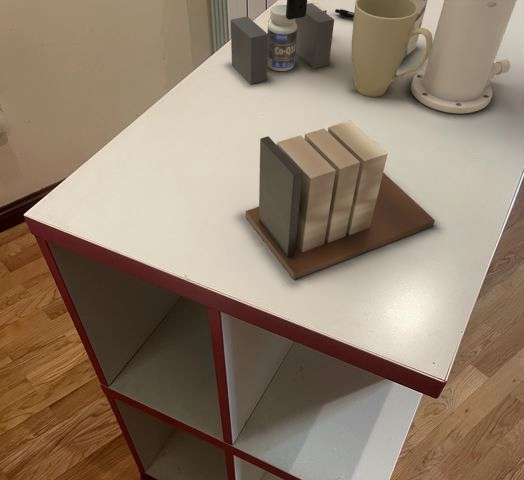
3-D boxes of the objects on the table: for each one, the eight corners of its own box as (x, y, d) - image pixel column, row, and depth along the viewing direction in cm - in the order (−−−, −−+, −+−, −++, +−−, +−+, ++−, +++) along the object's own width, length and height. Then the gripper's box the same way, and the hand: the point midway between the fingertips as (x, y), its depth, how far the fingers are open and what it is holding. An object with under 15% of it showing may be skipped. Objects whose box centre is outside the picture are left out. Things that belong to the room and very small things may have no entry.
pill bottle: (274, 74, 85) (276, 18, 78) (262, 61, 87) (263, 5, 81) (299, 68, 86) (303, 13, 79) (286, 56, 89) (289, 1, 82)
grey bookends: (307, 47, 91) (311, 2, 85) (329, 64, 87) (334, 19, 82) (231, 65, 86) (230, 19, 81) (250, 84, 83) (250, 37, 77)
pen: (332, 15, 98) (333, 9, 97) (336, 12, 99) (337, 6, 98) (400, 34, 94) (402, 27, 93) (404, 31, 95) (405, 24, 94)
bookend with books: (376, 173, 70) (397, 85, 60) (432, 226, 64) (465, 137, 54) (245, 217, 64) (244, 127, 54) (293, 280, 58) (302, 191, 48)
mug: (348, 107, 79) (362, 22, 70) (338, 75, 85) (350, -8, 75) (418, 106, 80) (441, 21, 70) (403, 74, 86) (423, -8, 76)
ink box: (395, 67, 87) (418, -37, 75) (370, 58, 89) (388, -45, 77) (416, 48, 91) (441, -53, 79) (391, 40, 93) (412, -60, 81)
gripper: (351, -130, 63) (330, 23, 77) (281, -164, 71) (274, -20, 85) (298, -125, 60) (286, 32, 74) (233, -161, 69) (233, -14, 83)
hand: (279, 4), depth 80 cm, fingers open, 9 cm apart
